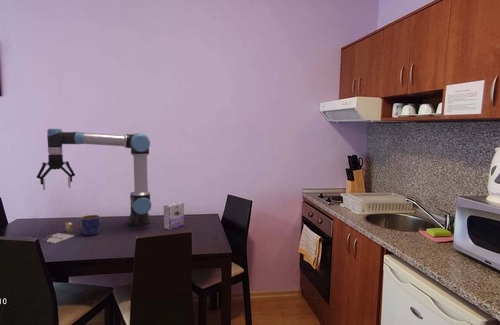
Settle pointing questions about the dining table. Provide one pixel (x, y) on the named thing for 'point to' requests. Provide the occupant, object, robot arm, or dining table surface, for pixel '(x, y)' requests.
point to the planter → (90, 224)
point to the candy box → (173, 215)
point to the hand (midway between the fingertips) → (57, 188)
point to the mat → (59, 237)
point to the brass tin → (69, 227)
